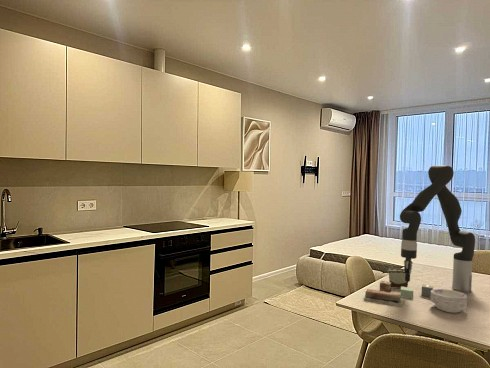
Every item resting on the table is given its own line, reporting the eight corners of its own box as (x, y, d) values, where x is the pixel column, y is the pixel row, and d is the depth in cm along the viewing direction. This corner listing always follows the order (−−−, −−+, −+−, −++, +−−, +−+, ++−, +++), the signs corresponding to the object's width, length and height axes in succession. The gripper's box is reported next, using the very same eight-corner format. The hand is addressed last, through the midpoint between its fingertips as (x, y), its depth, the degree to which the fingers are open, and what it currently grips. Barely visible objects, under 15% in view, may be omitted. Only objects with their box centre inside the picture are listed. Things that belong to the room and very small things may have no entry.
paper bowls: (433, 301, 180) (434, 286, 180) (468, 309, 171) (469, 293, 171) (426, 309, 169) (427, 292, 168) (463, 318, 159) (464, 300, 159)
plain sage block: (413, 295, 189) (413, 288, 189) (413, 299, 184) (413, 291, 184) (400, 293, 192) (401, 286, 192) (400, 296, 187) (400, 289, 186)
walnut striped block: (390, 291, 195) (391, 282, 195) (389, 293, 191) (389, 284, 191) (381, 289, 198) (381, 280, 198) (379, 291, 194) (379, 282, 193)
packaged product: (364, 291, 178) (366, 286, 187) (363, 301, 178) (366, 295, 187) (403, 298, 170) (404, 292, 179) (403, 308, 170) (403, 302, 179)
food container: (406, 285, 208) (406, 268, 208) (409, 288, 202) (410, 271, 201) (384, 284, 209) (385, 267, 209) (387, 287, 203) (388, 269, 203)
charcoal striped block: (432, 295, 191) (433, 285, 191) (432, 297, 187) (432, 287, 187) (422, 293, 194) (422, 284, 194) (421, 295, 189) (421, 286, 189)
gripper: (415, 251, 180) (414, 285, 180) (417, 247, 191) (416, 279, 192) (399, 249, 184) (398, 282, 184) (402, 245, 195) (401, 277, 195)
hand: (407, 281), depth 188 cm, fingers closed
